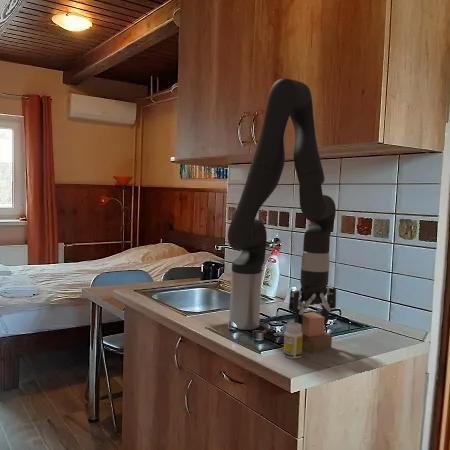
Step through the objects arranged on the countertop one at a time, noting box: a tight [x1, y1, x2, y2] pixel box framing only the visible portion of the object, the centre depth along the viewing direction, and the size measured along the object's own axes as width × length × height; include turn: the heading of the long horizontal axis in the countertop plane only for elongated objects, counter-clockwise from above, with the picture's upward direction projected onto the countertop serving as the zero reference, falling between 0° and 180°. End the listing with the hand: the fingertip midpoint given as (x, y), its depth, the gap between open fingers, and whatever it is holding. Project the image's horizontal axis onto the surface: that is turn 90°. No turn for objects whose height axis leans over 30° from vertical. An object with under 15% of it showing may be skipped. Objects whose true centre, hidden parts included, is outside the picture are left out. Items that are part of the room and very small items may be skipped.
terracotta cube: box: [301, 311, 325, 337], centre depth 129 cm, size 5×5×5 cm
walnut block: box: [302, 331, 333, 354], centre depth 129 cm, size 8×8×4 cm
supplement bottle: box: [283, 321, 303, 360], centre depth 122 cm, size 5×5×8 cm
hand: (311, 325), depth 129 cm, fingers open, 8 cm apart
